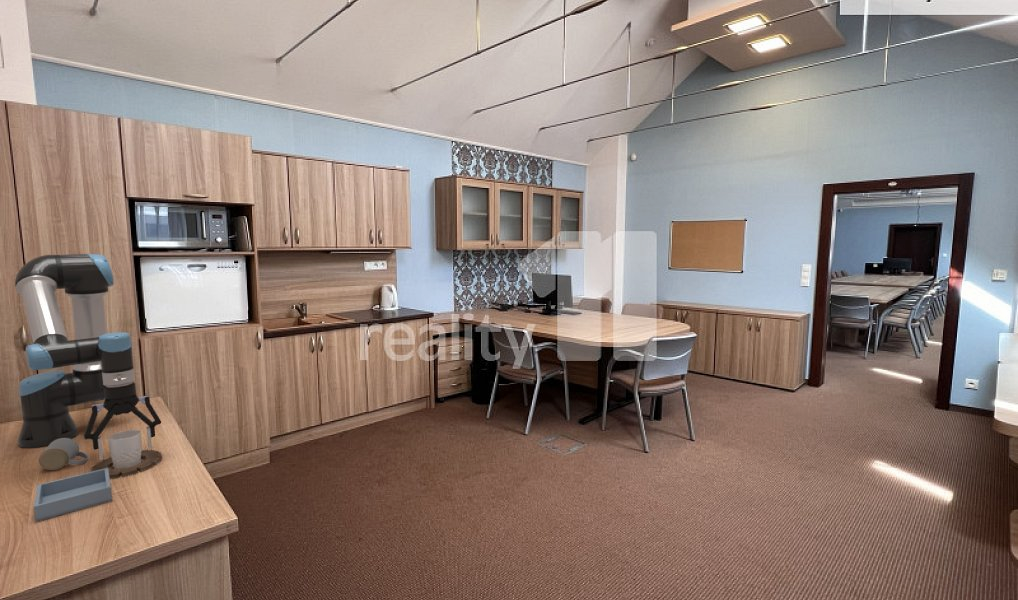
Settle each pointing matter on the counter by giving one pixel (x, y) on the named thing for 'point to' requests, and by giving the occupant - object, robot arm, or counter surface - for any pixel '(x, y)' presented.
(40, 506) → the bin
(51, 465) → the ceramic mug
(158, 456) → the holder ring
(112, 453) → the white cup
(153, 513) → the counter surface
